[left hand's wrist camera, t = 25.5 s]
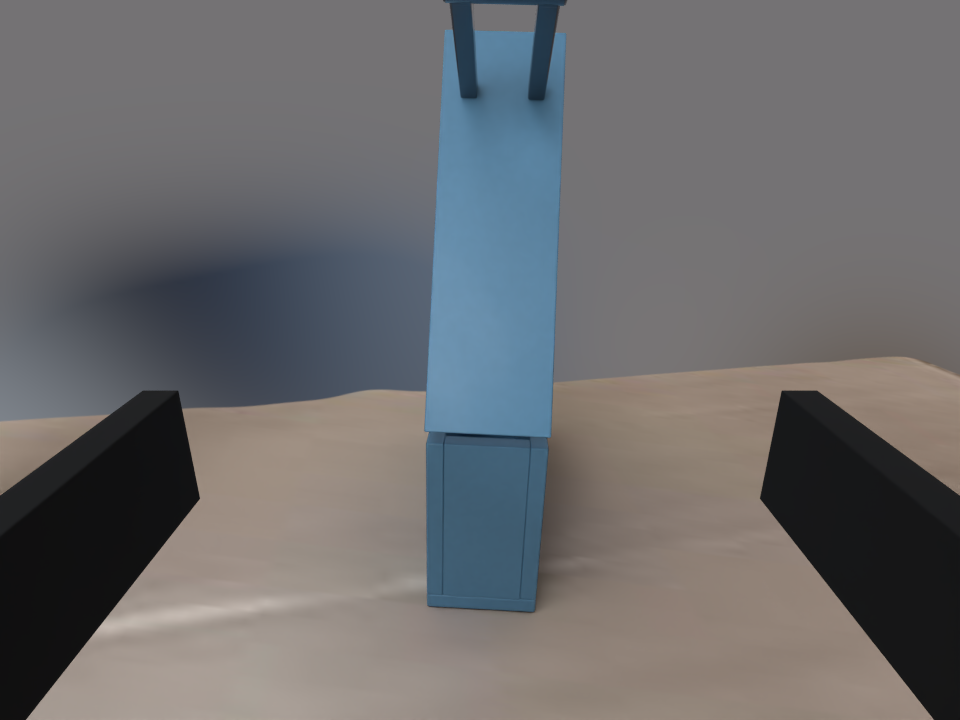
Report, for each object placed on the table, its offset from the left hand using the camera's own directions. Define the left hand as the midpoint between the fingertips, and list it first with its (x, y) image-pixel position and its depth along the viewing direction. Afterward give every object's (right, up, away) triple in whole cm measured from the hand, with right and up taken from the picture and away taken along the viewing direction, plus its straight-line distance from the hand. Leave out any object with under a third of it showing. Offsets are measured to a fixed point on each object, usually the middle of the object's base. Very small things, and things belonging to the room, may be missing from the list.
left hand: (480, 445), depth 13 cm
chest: (0, -7, +22) cm, 23 cm away
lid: (+1, +7, +12) cm, 14 cm away
